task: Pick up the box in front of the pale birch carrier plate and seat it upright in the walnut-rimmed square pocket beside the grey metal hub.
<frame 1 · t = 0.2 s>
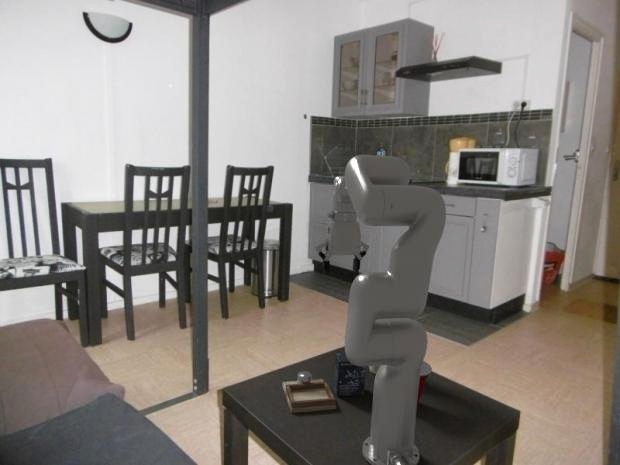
hand: (341, 272, 139), 31 cm above the table, tool pointing down, fingers open, 9 cm apart
plastic cup: (407, 405, 122), on the table
vase: (380, 371, 141), on the table
carrier plate: (307, 396, 124), on the table
box: (348, 392, 128), on the table
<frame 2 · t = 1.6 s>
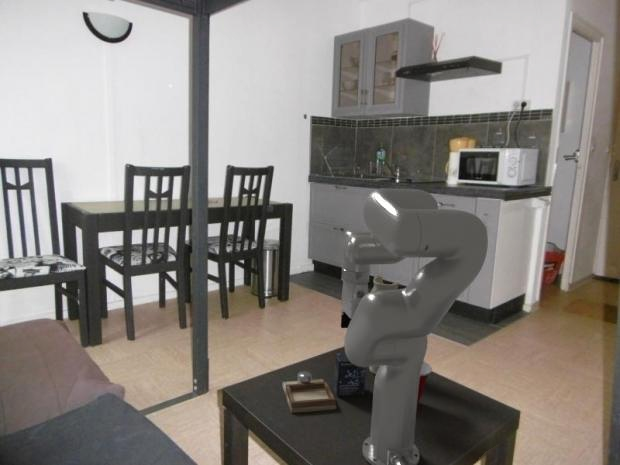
hand: (351, 334, 125), 17 cm above the table, tool pointing down, fingers open, 9 cm apart
nothing on the table moved.
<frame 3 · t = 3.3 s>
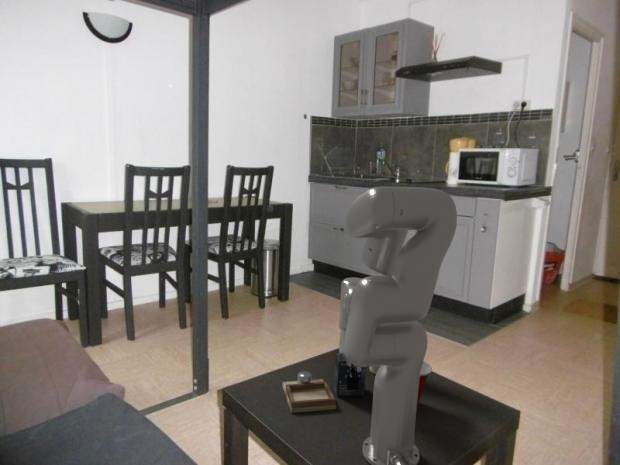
hand: (349, 382, 127), 3 cm above the table, tool pointing down, fingers closed on box, 5 cm apart
box: (348, 392, 128), on the table, touching gripper
everything else where it was.
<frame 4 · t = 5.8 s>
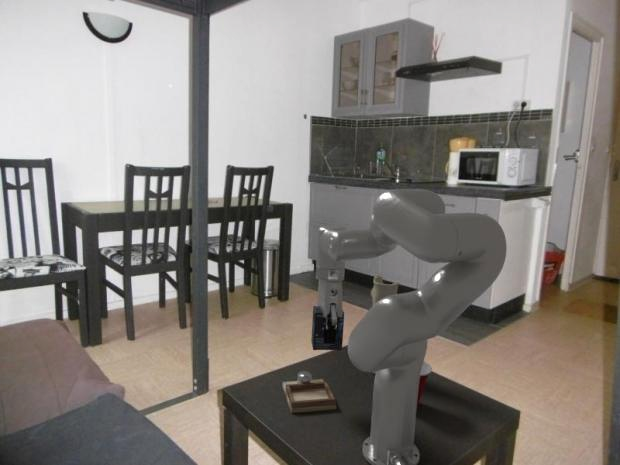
hand: (326, 337, 121), 17 cm above the table, tool pointing down, fingers closed on box, 5 cm apart
box: (326, 347, 122), point 15 cm above the table, touching gripper
everything else where it was.
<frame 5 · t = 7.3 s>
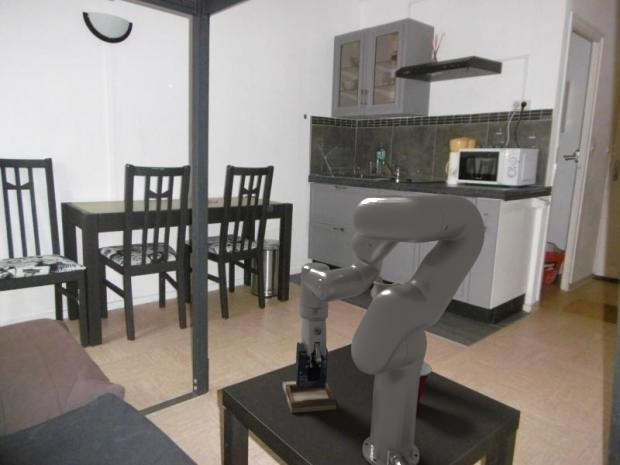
hand: (310, 373, 121), 8 cm above the table, tool pointing down, fingers closed on box, 5 cm apart
box: (310, 383, 121), point 5 cm above the table, touching gripper
everything else where it was.
when the fingers open (4 cm above the table, at t = 8.5 s): box stays where it is, resting on carrier plate.
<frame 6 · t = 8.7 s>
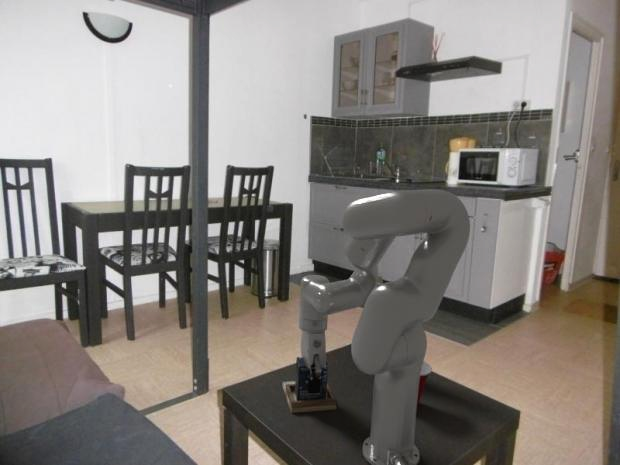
hand: (310, 384, 121), 5 cm above the table, tool pointing down, fingers open, 7 cm apart
box: (310, 398, 122), point 1 cm above the table, touching carrier plate
everything else where it was.
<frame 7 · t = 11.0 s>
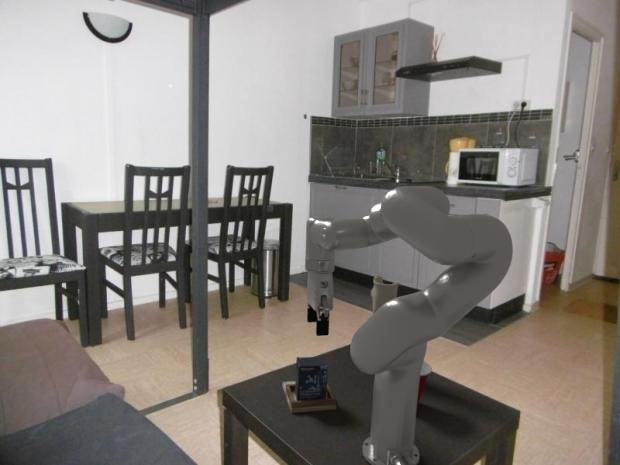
hand: (317, 328, 118), 21 cm above the table, tool pointing down, fingers open, 9 cm apart
nothing on the table moved.
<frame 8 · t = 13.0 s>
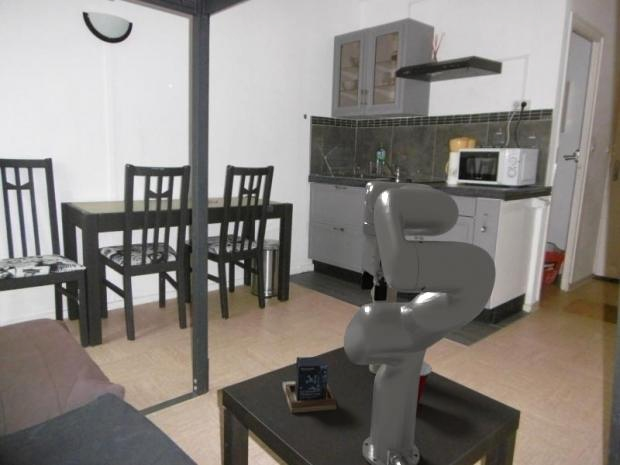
hand: (373, 294, 118), 30 cm above the table, tool pointing down, fingers open, 9 cm apart
nothing on the table moved.
at the end: box 0.3 cm from the target spot, point 0.8 cm above the table; box tilted 0°; the gripper is holding nothing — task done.
